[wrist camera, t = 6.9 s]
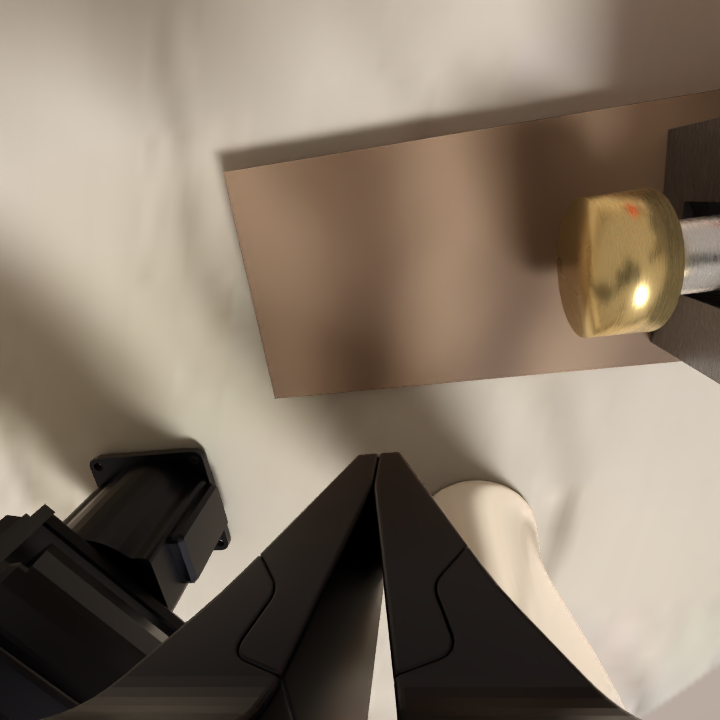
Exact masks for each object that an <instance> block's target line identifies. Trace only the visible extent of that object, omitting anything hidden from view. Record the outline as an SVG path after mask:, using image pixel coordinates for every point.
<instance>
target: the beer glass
mask: <svg viewBox="0 0 720 720" xmlns="http://www.w3.org/2000/svg"><path fill="white" fill-rule="evenodd" d="M433 498H434V500H435V501H436V503H437V504H438V505H439V507H440V508H441V509H442V511H443V512H444V514H445V515H446V516H447V518H448V519H449V520H450V522H451V523H452V524H453V526H454V527H455V529H456V530H457V531H458V533H459V534H460V535H461V537H462V538H463V540H464V541H465V542H466V544H467V545H468V548H470V549H471V550H472V551H473V553H474V554H475V556H476V557H477V558H478V560H479V561H480V562H481V564H482V565H483V566H484V568H485V569H486V570H487V571H488V573H489V574H490V575H491V576H492V578H493V579H494V580H495V581H496V583H497V584H498V585H499V586H500V587H501V588H502V589H503V591H504V592H505V593H506V594H507V595H508V596H509V597H510V598H511V599H512V600H513V602H514V603H515V604H516V605H517V606H518V607H519V608H520V609H521V610H522V611H523V612H524V613H525V614H526V615H527V616H528V617H529V619H530V620H531V621H532V622H533V623H534V624H535V625H536V626H537V627H538V628H539V629H540V630H541V631H542V632H543V633H544V634H545V635H546V636H547V637H548V638H549V639H550V640H551V641H552V642H553V643H554V644H555V645H556V647H557V648H558V649H559V650H560V651H561V652H562V653H563V654H564V655H565V656H566V657H567V658H568V659H569V660H570V661H571V662H572V663H573V664H574V665H575V666H576V667H577V668H578V669H579V670H580V671H581V672H582V673H583V674H584V676H585V677H586V678H587V679H588V680H589V681H591V682H592V683H593V684H594V685H595V686H596V687H597V688H598V689H599V690H600V691H601V692H602V693H603V694H605V695H606V696H607V697H608V698H609V699H610V700H612V701H613V702H615V703H616V704H617V705H619V706H620V707H621V708H623V709H624V710H626V708H625V706H624V704H623V702H622V700H621V698H620V697H619V695H618V693H617V691H616V689H615V688H614V686H613V684H612V682H611V680H610V679H609V677H608V675H607V673H606V671H605V670H604V668H603V666H602V664H601V662H600V661H599V659H598V657H597V655H596V654H595V652H594V651H593V649H592V647H591V646H590V644H589V642H588V641H587V639H586V638H585V636H584V634H583V633H582V631H581V629H580V628H579V626H578V625H577V623H576V621H575V620H574V618H573V617H572V615H571V613H570V612H569V610H568V609H567V607H566V605H565V604H564V602H563V601H562V599H561V597H560V596H559V594H558V592H557V591H556V589H555V587H554V586H553V584H552V582H551V580H550V578H549V576H548V574H547V572H546V570H545V567H544V564H543V561H542V558H541V554H540V549H539V542H538V534H537V527H536V522H535V518H534V515H533V513H532V510H531V508H530V507H529V505H528V504H527V502H526V501H525V500H524V499H523V498H522V497H521V496H520V495H519V494H518V493H516V492H515V491H513V490H512V489H510V488H508V487H506V486H504V485H501V484H498V483H495V482H490V481H483V480H471V481H464V482H459V483H456V484H453V485H450V486H448V487H446V488H444V489H442V490H441V491H439V492H438V493H436V494H435V495H434V496H433Z"/></svg>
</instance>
